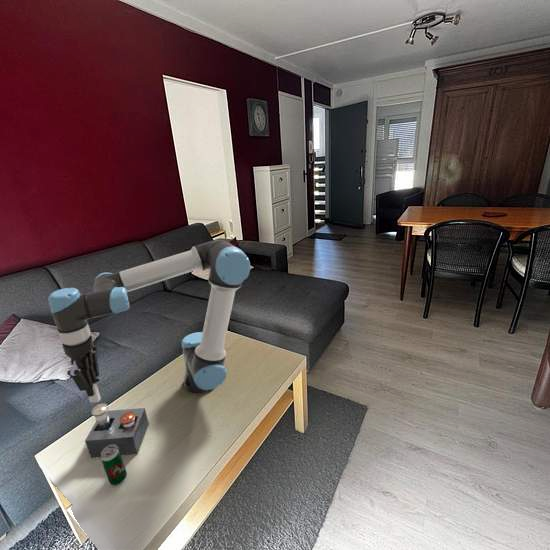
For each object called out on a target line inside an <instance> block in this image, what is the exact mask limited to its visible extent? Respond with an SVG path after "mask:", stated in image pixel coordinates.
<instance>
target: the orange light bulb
mask: <svg viewBox="0 0 550 550" xmlns="http://www.w3.org/2000/svg"><path fill="white" fill-rule="evenodd" d="M134 419H135V414H134V413H133V412H126V413H124V414H123V415H122V416H121V417H120V423H121V424H122V425H123V427H124V429H127V428H134V426H135V421H134Z"/></svg>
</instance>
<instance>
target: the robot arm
mask: <svg viewBox="0 0 550 550" xmlns="http://www.w3.org/2000/svg"><path fill="white" fill-rule="evenodd" d="M206 270H209V275H208V278H207V279H208V280H207V281H208V283H209V284H210V285H211V287H210V293H209V298H208V301H207V307H206V308H207V309H206V313H205V318H204V323H203V324H204V325H203V329H202V331H198V332H197V331H196V332H192V333H190V334H187V335H186V336H185V337H183V339H181V349H182V353H183V360H184V365H185V366H184V367H185V373H184V377H183V385H184V389H185V390H186V391H187V392H188V393H191V394H195V395H198V394H199V395H201V394H205V393H209V392H210V391H213V390H214V389H216V388H217V387H219V386H221V385H222V384H223V383H224V382H225V380H226V378H227V375H228V373H227V372H228V371H227V368H226V367H225V361H226V355H227V351H226V350H225V348H224V346H225V341H226V336H227V334H228V333H227V332H228V328H229V324H230V323H229V322H230V319H231V314H232V308H233V303H234V300H235V294H236V291H237V290H239V289H240V288H241V287H242V283H244V280H247V278H248V277H249V274H250V272H251V262H250V260H249V257H248V256H247V254H245V252H244V251H243V250H242V249H240V248H239V247H237V246H235V245H234V244H232V243H231V242H229V241H226V240H223V239H216V240H211V241H207V242H204V243H200V244H197V245H194V246H192V248H191V249H190V250H187V251H183V252H180V253H177V254H173V255H171V256H167V257H163V258H161V259H158V260H154V261H150V262H147V263H144V264H141V265H137V266H133V267H132V268H131V267H130V268H128V269H124V270H121V271H117V272H114V273H112V272H101V273H99V274H98V275H97V276H96V277H95V279H94V282H93V285H92V289H93V291H92V292H88V293H81V292H80V291H79V289H77V288H75V287H64V288H61V289H60V288H59V289H57V290H54V291H53V292H52V293H50V294H49V296H48V297H47V300H48V304H49V308H50V313H51V315H52V318H53V321H54V325H55V326H56V330H57V332H58V335H59V338H60V342H61V344H62V348H63V351H64V354H65V356H67V357H68V358H70V365H71V369H70V370H67V375H68V376H70V377H71V379H72V380H73V381H74V384H75V385H76V386H77V388H78V390H79V391H82V392H83V391H85V392H86V394H87V395H86V396H87V397H88V400H89V403H90V404H91V403H99V402H100V401H101V400H102V398H101V394H100V391H99V388H98V387H99V386H98V384H97V383H98V382H100V378H98V377H99V376H100V370H99V362H98V361H99V360H98V355H97V354H98V347H97V346H95V344H94V340H93V337H92V335H91V334H92V332H91V328H90V325H89V323H88V320H89V319H94V318H98V317H99V318H100V317H104V316H110V315H113V314H119V313H122V312H125V311H128V310H129V309H130V303H129V298H128V297H129V296H128V293H129V292H131V291H132V292H133V291H135V290H139V289H141V288H144V287H148V286H152V285H153V284H157V283H160V282H163V281H166V280H169V279H172V278H175V277H178V276H182V275H184V274H188V273H190V272H191V273H192V272H194V271H201V272H203V271H206Z"/></svg>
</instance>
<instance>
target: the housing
mask: <svg viewBox="0 0 550 550" xmlns="http://www.w3.org/2000/svg"><path fill="white" fill-rule="evenodd" d="M126 412H133V413H134V414H135V419H134V421H135V426H134V428H127V429H124V427H123V425H122V424H121V423H120V417H121V416H122V415H123V414H124V413H126ZM107 413H108V416H109V419H110V422H111V426H110V428H109V429H107V430H103V431H100V430H99V427H98V424H97V421H96V420H95V423H94V424H93V426H92V427H91V430H90V431H89V432H88V435H87V437H86V438H85V439H84V443H85V445H86V447H87V451H88V454H89V457H90V458H91V459H96V458H97V459H98V458H99V459H101V452H102V450H103V449H104V448H105V447H107V446H108V445H111V444H115V445H116V446H118V447H119V449H120V452H121V455H122V457H123V456H133V455H134V456H135V455H138V454H139V452H140V448H141V446H142V444H143V440H144V439H145V435H146V433H147V430H148V428H149V425H150V424H149V419H148V416H147V412H146V407H140V408H128V409H116V410H115V409H113V410H107Z"/></svg>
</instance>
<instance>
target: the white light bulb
mask: <svg viewBox="0 0 550 550" xmlns="http://www.w3.org/2000/svg"><path fill="white" fill-rule="evenodd" d="M107 411H109V407H108V404H107V403H98V404H96V405H95V406H94V407H92V409H91V412H90V413H91V415H92V416H93V417H94V418H95V422H96V421H97V424H98V427H99V430H100V431H103V430H107V429H109V428H110V426H111V422H110V419H109V416H108V413H107Z"/></svg>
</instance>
